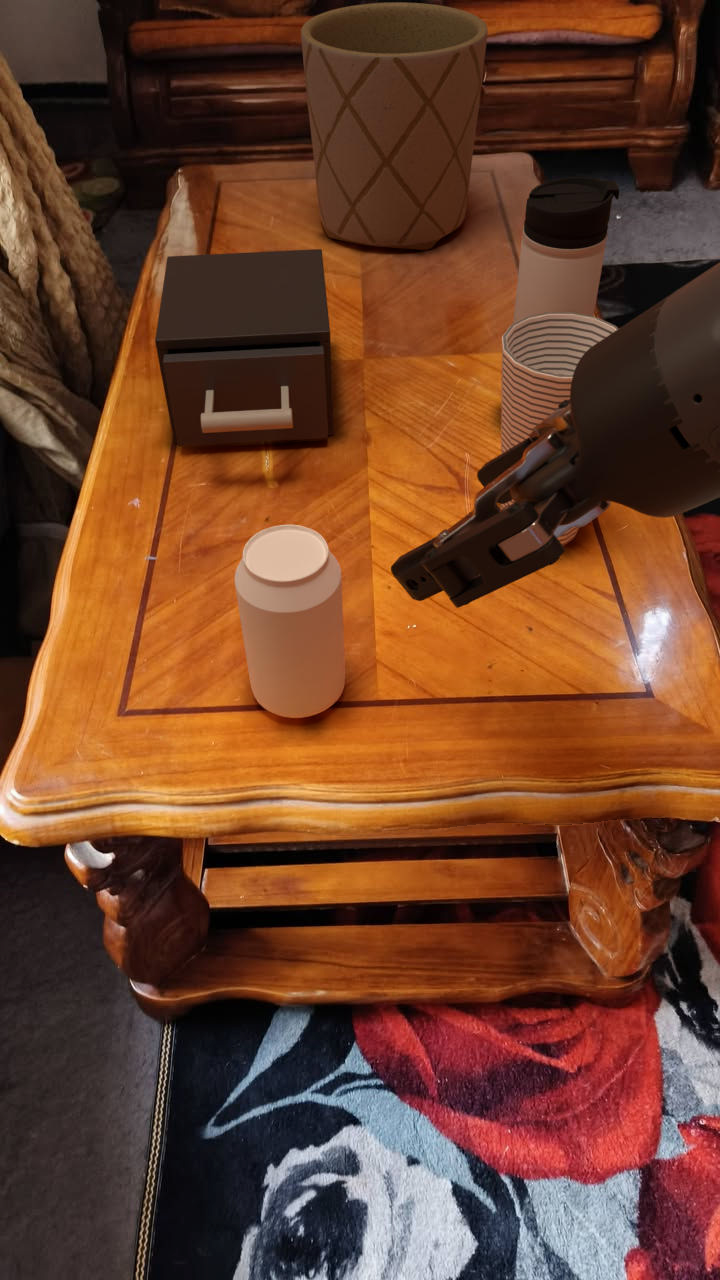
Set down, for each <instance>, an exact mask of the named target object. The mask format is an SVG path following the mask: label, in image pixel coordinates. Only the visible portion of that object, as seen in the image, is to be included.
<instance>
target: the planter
mask: <svg viewBox="0 0 720 1280" xmlns="http://www.w3.org/2000/svg"><path fill="white" fill-rule="evenodd" d="M300 38H301V39H300V40H301V48H302V49H301V51H302V60H303V70H304V72H303V73H304V82H305V90H306V91H305V92H306V99H307V108H308V109H307V110H308V117H309V127H310V136H311V144H312V145H311V146H312V154H313V155H312V156H313V164H314V172H315V182H316V193H317V205H318V211H319V217H320V220H321V223H322V226H323V229H324V232H325V234H326V235H327V237H328V238H330V239H333V240H338V241H344V242H349V243H354V244H358V245H362V246H363V245H364V246H369V247H380V248H391V249H392V248H394V249H408V250H417V251H418V250H419V251H428V250H431V249H432V248H433V247H434V246H435V245H436V244H437V242H438V241H440V239H442V238H444V237H446V236H447V235H449V234H450V233H452V232H454V231H456V230H457V229H458V228H459V227H460V226H461V225H462V223H463V222H464V220H465V217H466V213H467V208H468V207H467V206H468V196H469V187H470V180H471V172H472V163H473V156H474V148H475V140H476V131H477V124H478V117H479V110H480V100H481V93H482V86H483V85H482V84H483V76H484V69H485V59H486V52H487V51H486V50H487V41H488V26H487V24H486V22H485V21H484V20H483V19H482V18H480V17H479V16H477V15H475V14H474V13H471V12H468V11H465V10H462V9H459V8H455V7H450V6H445V5H441V4H440V5H439V4H433V3H432V4H431V3H423V2H422V3H420V2H400V1H399V2H398V1H397V2H376V3H375V2H374V3H364V4H356V5H355V4H354V5H350V6H344V7H339V8H334V9H331V10H327V11H325V12H322V13H319V14H317V15H315V16H313V17H312V18H310V19H309V20H308V19H307V21H306V22H304V24H303V25H302V27H301V30H300Z"/></svg>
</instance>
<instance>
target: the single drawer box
mask: <svg viewBox="0 0 720 1280" xmlns="http://www.w3.org/2000/svg"><path fill="white" fill-rule="evenodd" d="M323 257H324V256H323V250H322V248H315V249H314V248H313V249H293V250H291V249H290V250H274V251H273V250H272V251H252V252H233V253H214V254H213V253H211V254H191V255H189V254H188V255H173V256H170V255H169V256H167V257H166V264H165V270H164V277H163V284H162V290H161V297H160V304H159V311H158V318H157V326H156V330H155V331H156V334H155V339H154V342H155V348H156V353H157V360H158V363H159V369H160V373H161V374H160V375H161V380H162V385H163V391H164V395H165V401H166V407H167V412H168V417H169V423H170V429H171V435H172V440H173V443H174V445H178V440H177V435H176V429H175V424H174V419H173V413H172V408H171V402H170V397H169V392H168V386H167V381H166V375H165V370H164V365H163V359H164V355H165V354H177V351H176V349H190V348H209V347H228V346H247V345H266V344H285V343H304V342H313V347H315V346H323V348H324V363H325V383H326V404H327V424H328V437H329V436H335V416H334V415H335V414H334V413H335V412H334V389H333V368H332V346H331V344H332V343H331V329H330V317H329V309H328V307H329V306H328V298H327V288H326V277H325V268H324V258H323Z"/></svg>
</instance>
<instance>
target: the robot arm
mask: <svg viewBox="0 0 720 1280" xmlns="http://www.w3.org/2000/svg"><path fill="white" fill-rule="evenodd" d="M618 328H619V329H618V330H616V331H615V332H613V333H612V334H610V335H609V336H607V337H606V338H604V339H603V340H601V341H600V342H598V343H597V344H595V345H594V346H592V347H591V348H590V349H589V350H587V351H586V352H585V354H584V355H583V356H582V357H581V359H580V361H579V362H578V364H577V366H576V368H575V371H574V374H573V378H572V382H571V390H570V399H569V400H567V399H566V400H564V401H563V402H561V403H560V404H559V405H558V408H557V409H556V410H555V411H554V412H553V413H552V414H551V415H549V416H548V417H547V418H546V419H545V420H544V421H542V422H541V423H539V424H538V425H537V426H535V427H534V428H533V430H534V431H533V432H532V433H531V434H530V435H529V437H530V438H531V439H530V438H527V439H525V440H524V441H522V442H520V443H519V444H517V445H515V446H514V447H512V448H510V449H509V450H507V451H506V452H504V453H502V454H501V453H500V454H498V455H497V456H495V457H494V458H492V459H490V460H489V461H487V462H486V463H484V464H483V465H482V467H480V468H479V470H478V471H477V473H476V477H477V480H478V482H479V483H480V484H481V485H482V487H483V488H481V489H480V490H479V491H477V493H475V494H474V497H473V509H472V510H471V511H470V512H469V513H468V514H467V513H466V515H465V516H463V517H462V518H461V519H459V520H458V521H457V522H455V523H454V524H453V525H452V526H450V527H449V528H448V529H447V528H445V529H443V530H442V531H440V532H439V533H438V534H437V536H435V537H433V538H431V539H430V540H428V541H426V542H424V543H422V544H420V545H419V546H417V547H415V548H413V549H411V550H409V551H407V552H406V553H404V554H402V555H400V556H399V557H398V558H397V559H396V560H395V561H394V562H393V564H392V565H391V566H390V572H391V574H392V576H393V577H394V578H395V579H396V581H397V582H398V583H399V584H400V586H401V587H402V588H403V589H404V591H405V592H406V593H407V594H408V596H410V598H411V599H412V600H415V601H417V602H422V601H425V600H427V599H429V598H431V597H433V596H435V595H437V594H439V593H443V592H444V593H445V594H446V595H447V597H448V599H449V600H450V601H451V603H452V604H453V605H454V607H456V609H459V608H462V607H464V606H467V605H469V604H471V603H472V602H474V601H476V600H479V599H480V598H482V597H485V596H487V595H490V594H492V593H493V592H495V591H497V590H500V589H501V588H504V587H505V586H508V585H511V584H512V583H515V582H516V581H518V580H521V579H523V578H525V577H527V576H529V575H532V574H534V573H536V572H538V571H540V570H542V569H544V568H546V567H548V566H552V565H554V564H555V563H557V562H558V561H559V559H560V557H561V556H562V555H563V554H564V553H565V551H566V548H565V547H564V546H563V545H562V544H561V543H560V542H559V540H558V539H557V538H559V537H560V536H561V535H563V534H564V533H566V532H567V531H568V530H570V529H571V528H573V527H579V528H583V527H585V526H587V525H589V523H591V522H592V521H594V520H595V519H596V518H598V517H599V516H601V515H602V514H603V513H604V512H605V511H607V510H608V508H610V506H611V504H612V503H615V504H619V505H622V506H624V507H627V508H629V509H631V510H633V511H635V512H637V513H639V514H642V515H645V516H648V517H652V518H659V519H660V518H662V519H664V518H672V517H676V516H679V515H681V514H685V513H686V512H688V511H691V510H693V509H696V508H698V507H701V506H702V505H704V504H708V503H709V502H712V501H715V500H717V499H719V498H720V261H719V262H717V264H714V265H713V266H712V267H710V268H709V269H707V270H705V271H704V272H703V273H700V274H699V275H698V276H696V277H695V278H694V279H692V280H690V281H689V282H688V283H686V284H685V285H683V286H681V287H680V288H678V289H676V290H675V291H673V292H672V293H670V294H669V295H667V296H666V297H665V298H663V299H661V300H660V301H658V302H657V303H655V304H654V305H652V306H651V307H649V308H648V309H646V310H645V311H643V312H642V313H640V314H639V315H638V316H636V317H635V318H633V319H631V320H629V321H628V322H626V324H624V325H622V326H621V327H618ZM511 500H513V501H514V503H513V504H511V505H507V506H505V507H504V508H503V509H502V510H501V507H500V506H499V505H498V504H500V505H501V504H505V503H507V502H509V501H511Z"/></svg>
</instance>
